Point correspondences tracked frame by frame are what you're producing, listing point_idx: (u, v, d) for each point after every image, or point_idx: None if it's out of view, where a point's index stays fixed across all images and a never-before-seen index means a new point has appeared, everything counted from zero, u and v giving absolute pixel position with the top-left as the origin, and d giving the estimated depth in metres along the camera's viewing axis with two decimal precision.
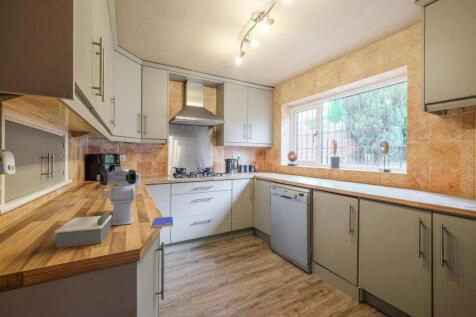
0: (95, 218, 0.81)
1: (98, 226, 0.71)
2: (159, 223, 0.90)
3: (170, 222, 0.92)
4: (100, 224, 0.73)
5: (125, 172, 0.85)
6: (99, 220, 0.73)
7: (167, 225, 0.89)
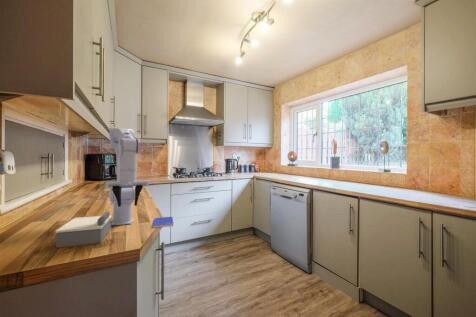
0: (95, 218, 0.81)
1: (98, 226, 0.71)
2: (159, 223, 0.90)
3: (170, 222, 0.92)
4: (100, 224, 0.73)
5: (134, 183, 0.80)
6: (99, 220, 0.73)
7: (167, 225, 0.89)
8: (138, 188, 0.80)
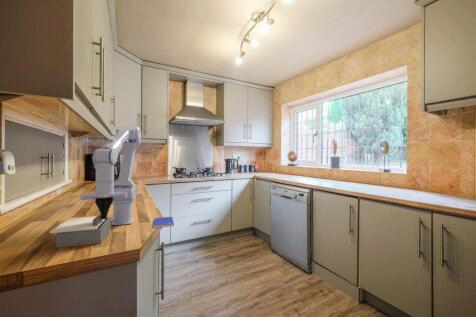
0: (91, 218, 0.81)
1: (93, 226, 0.71)
2: (160, 223, 0.90)
3: (171, 222, 0.92)
4: (95, 224, 0.72)
5: (110, 196, 0.77)
6: (94, 220, 0.72)
7: (168, 225, 0.89)
8: (107, 201, 0.76)
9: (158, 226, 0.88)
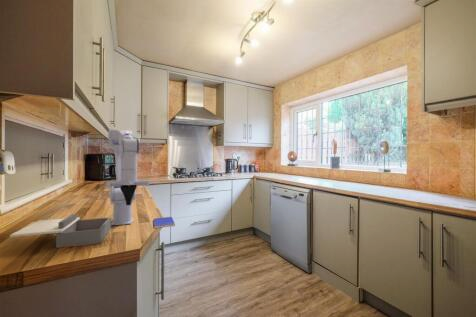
0: (60, 221, 0.77)
1: (58, 229, 0.68)
2: (160, 223, 0.90)
3: (171, 222, 0.92)
4: (61, 227, 0.69)
5: (134, 183, 0.82)
6: (60, 223, 0.69)
7: (169, 225, 0.89)
8: (132, 188, 0.81)
9: (159, 226, 0.88)
